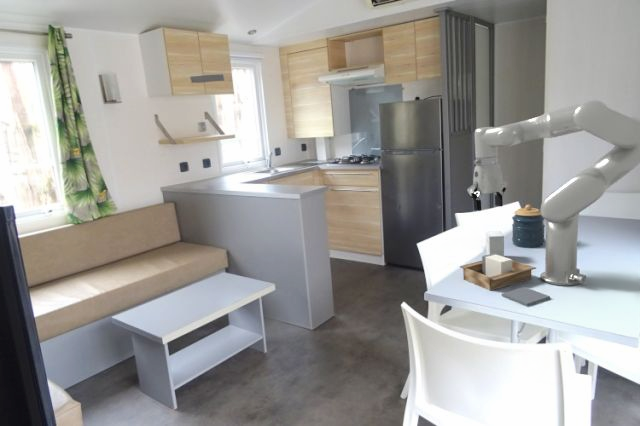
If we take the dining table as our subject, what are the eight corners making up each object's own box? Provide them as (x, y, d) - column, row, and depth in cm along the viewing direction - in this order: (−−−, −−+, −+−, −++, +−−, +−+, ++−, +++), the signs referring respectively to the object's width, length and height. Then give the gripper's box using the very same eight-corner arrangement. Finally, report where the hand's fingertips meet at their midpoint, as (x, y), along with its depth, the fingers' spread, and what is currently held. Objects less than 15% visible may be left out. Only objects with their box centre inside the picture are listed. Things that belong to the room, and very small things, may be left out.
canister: (538, 239, 204) (538, 200, 200) (549, 247, 191) (550, 206, 188) (508, 240, 205) (508, 202, 202) (517, 248, 193) (517, 208, 189)
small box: (504, 261, 179) (504, 236, 177) (489, 261, 180) (489, 236, 178) (500, 255, 186) (500, 230, 184) (486, 255, 188) (486, 231, 186)
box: (512, 281, 159) (512, 259, 157) (501, 284, 157) (501, 262, 155) (492, 274, 167) (492, 253, 165) (482, 277, 165) (482, 256, 163)
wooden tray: (536, 279, 158) (536, 267, 157) (494, 292, 151) (494, 279, 150) (499, 267, 173) (498, 256, 172) (459, 278, 166) (459, 266, 165)
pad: (549, 298, 142) (550, 296, 142) (526, 306, 138) (526, 303, 138) (524, 289, 151) (524, 286, 151) (501, 295, 147) (501, 293, 147)
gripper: (474, 165, 156) (476, 213, 160) (513, 159, 162) (514, 205, 165) (460, 164, 163) (462, 210, 167) (498, 158, 169) (499, 203, 172)
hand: (488, 208), depth 166 cm, fingers open, 9 cm apart
